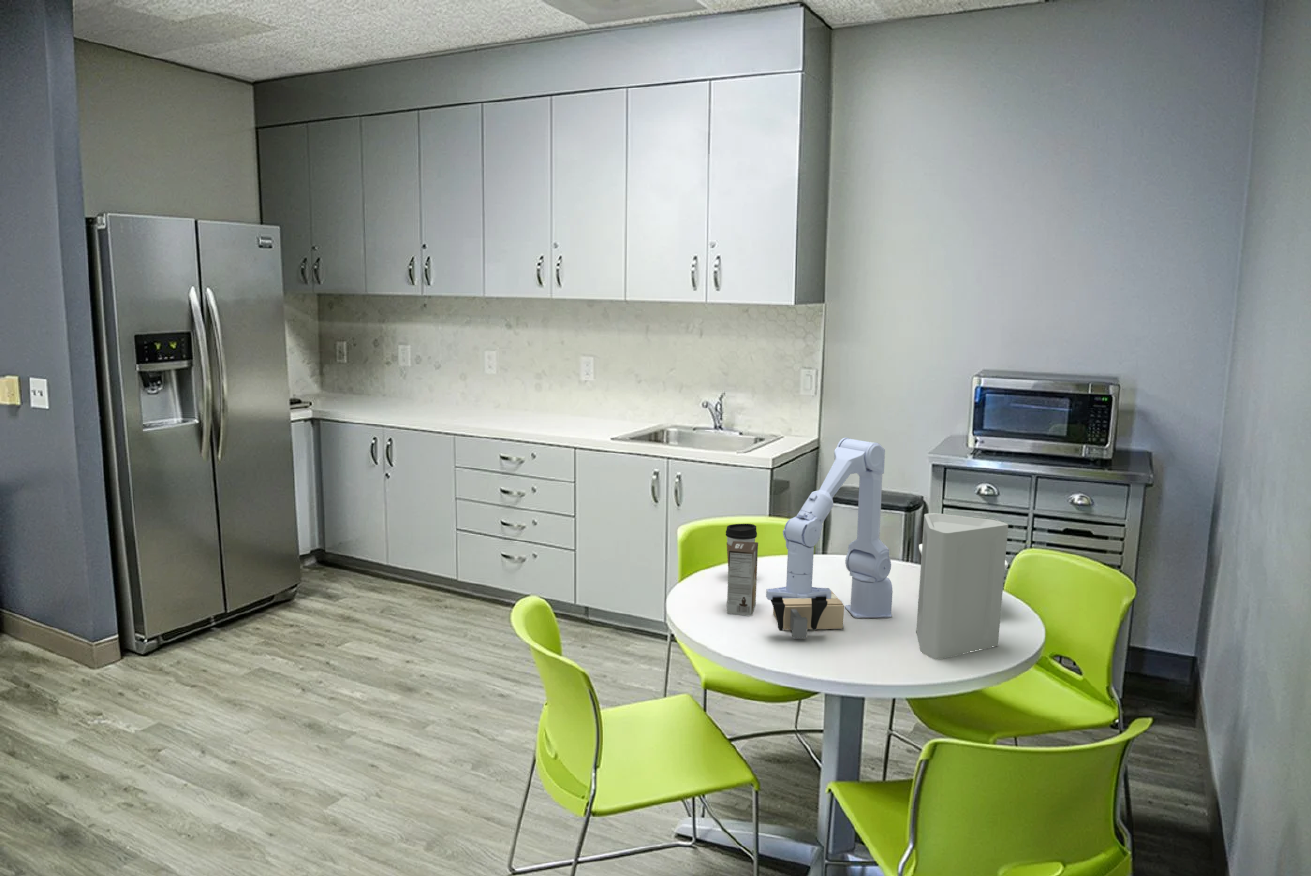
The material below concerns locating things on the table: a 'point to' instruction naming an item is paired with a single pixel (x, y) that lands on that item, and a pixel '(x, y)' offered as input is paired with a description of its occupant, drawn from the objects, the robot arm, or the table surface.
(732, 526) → the coffee cup
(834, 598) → the carton
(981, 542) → the grey triangular prism
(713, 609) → the table surface
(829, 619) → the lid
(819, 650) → the table surface
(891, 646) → the table surface
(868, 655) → the table surface
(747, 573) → the coffee box
